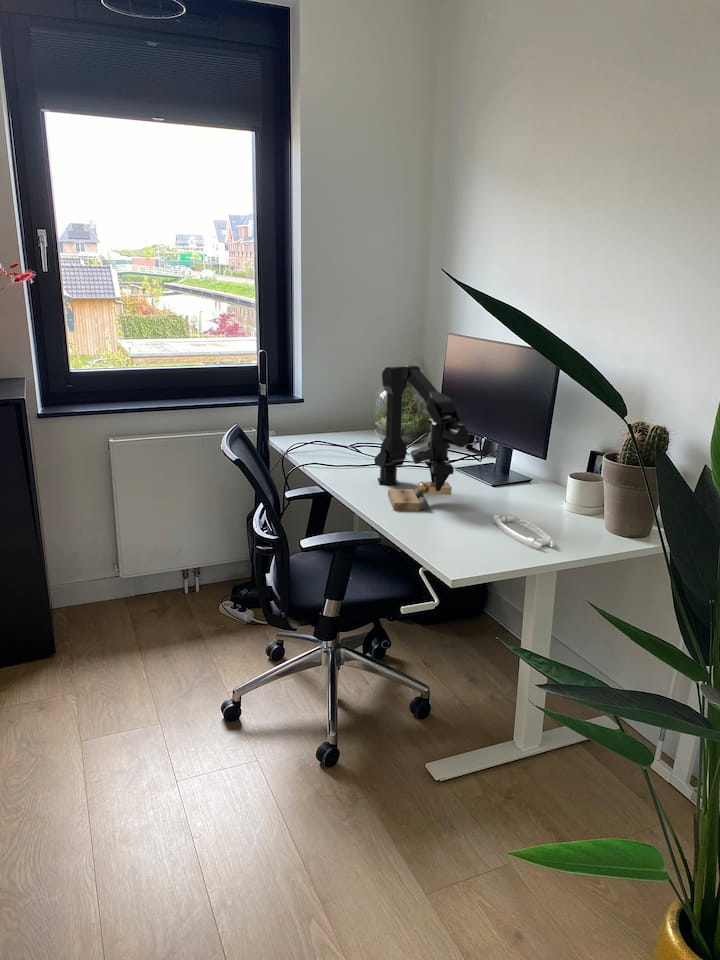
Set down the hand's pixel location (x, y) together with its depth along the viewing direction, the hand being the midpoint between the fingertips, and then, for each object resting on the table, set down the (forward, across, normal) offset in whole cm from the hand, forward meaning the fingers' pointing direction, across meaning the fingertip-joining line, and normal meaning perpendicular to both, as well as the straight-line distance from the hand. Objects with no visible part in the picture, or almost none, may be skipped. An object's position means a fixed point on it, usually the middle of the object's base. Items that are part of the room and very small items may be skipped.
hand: (435, 488), depth 228 cm
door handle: (+6, +26, +20) cm, 34 cm away
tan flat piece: (+5, 0, -9) cm, 10 cm away
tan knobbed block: (+1, 0, -1) cm, 1 cm away
